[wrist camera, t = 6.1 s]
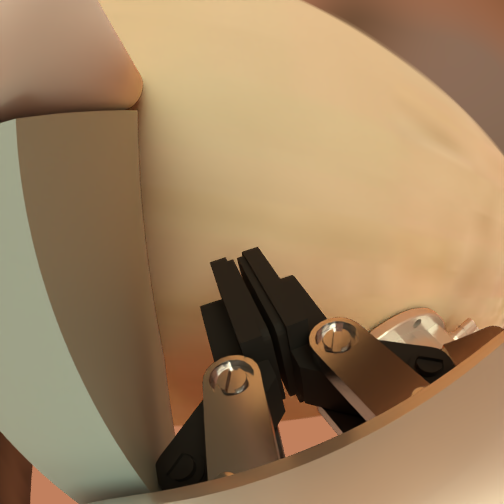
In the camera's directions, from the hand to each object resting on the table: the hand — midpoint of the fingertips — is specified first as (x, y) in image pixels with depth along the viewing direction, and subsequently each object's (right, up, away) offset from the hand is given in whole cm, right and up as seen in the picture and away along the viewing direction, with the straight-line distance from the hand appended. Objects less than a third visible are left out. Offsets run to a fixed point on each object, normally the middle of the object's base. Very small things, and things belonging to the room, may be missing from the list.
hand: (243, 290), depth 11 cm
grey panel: (-5, +2, +2) cm, 6 cm away
